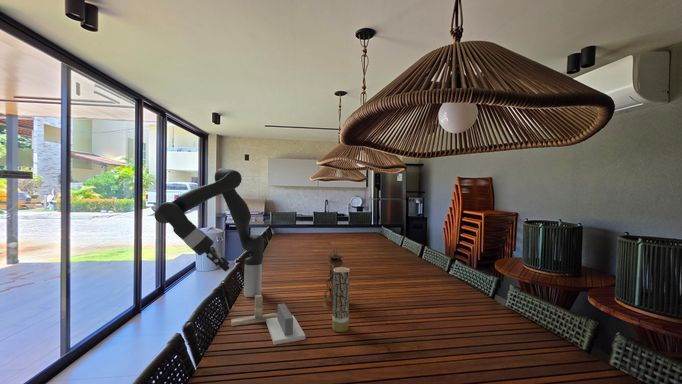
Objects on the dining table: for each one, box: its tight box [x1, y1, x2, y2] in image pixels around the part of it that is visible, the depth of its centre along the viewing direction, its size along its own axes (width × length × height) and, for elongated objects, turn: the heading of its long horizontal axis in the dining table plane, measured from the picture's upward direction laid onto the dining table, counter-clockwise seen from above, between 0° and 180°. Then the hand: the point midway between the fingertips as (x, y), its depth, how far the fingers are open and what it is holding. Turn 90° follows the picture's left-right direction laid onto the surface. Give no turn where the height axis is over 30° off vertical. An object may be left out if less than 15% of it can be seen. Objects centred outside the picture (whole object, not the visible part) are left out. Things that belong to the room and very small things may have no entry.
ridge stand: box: [265, 303, 306, 346], centre depth 115 cm, size 20×12×8 cm, turn 23°
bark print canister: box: [331, 266, 351, 333], centre depth 117 cm, size 7×7×25 cm
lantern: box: [322, 246, 344, 311], centre depth 143 cm, size 17×13×30 cm
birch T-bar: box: [230, 294, 278, 327], centre depth 123 cm, size 3×22×11 cm, turn 113°
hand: (227, 267), depth 118 cm, fingers open, 8 cm apart
